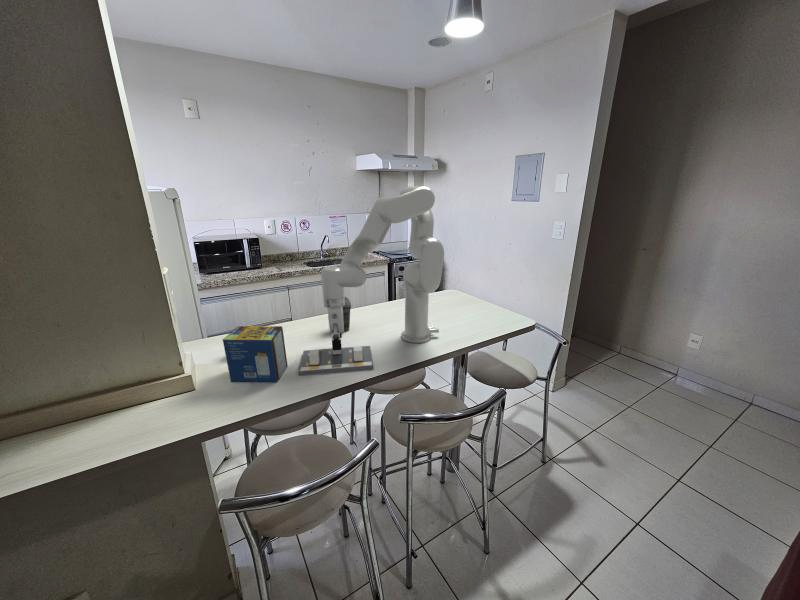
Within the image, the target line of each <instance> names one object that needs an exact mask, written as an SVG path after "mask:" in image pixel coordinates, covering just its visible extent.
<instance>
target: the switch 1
mask: <svg viewBox="0 0 800 600" xmlns="http://www.w3.org/2000/svg"><path fill="white" fill-rule="evenodd" d="M310 350H311V351H310V353H309V359H310V365H317V364H319V361H320V358H319V349H310Z"/></svg>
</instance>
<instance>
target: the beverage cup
mask: <svg viewBox="0 0 800 600" xmlns="http://www.w3.org/2000/svg"><path fill="white" fill-rule="evenodd" d="M344 297H345V305H344V306H342V308H343V320H344V332H343V333H346V332H349V331H350V325H351V322H350V321H351V309H352V305H351V300H350V299H349V298H348V297H347V296H345V295H344Z"/></svg>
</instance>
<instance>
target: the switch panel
mask: <svg viewBox="0 0 800 600" xmlns="http://www.w3.org/2000/svg"><path fill="white" fill-rule="evenodd" d="M353 347H354V346H350V347H346V346H345V347H342V349H341V354H333V349H332V348H322V349H321V348H320V349H318V350H319V358H320V361H319V364H317V365H310V359H309V353H310V351H311V350H312V349H308V350H307V349H305V350H303V352H302V357H301V361H300V365H299V370H298V376H308V375H322V374H331V373H333V374H334V373H343V372H355V371H356V372H357V371H367V370H368V371H369V370H374V362H373V355H372V349H371V345H364V346H363V345H361V346H358V347H362V356H363V361H354V350H353Z"/></svg>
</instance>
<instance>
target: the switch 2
mask: <svg viewBox="0 0 800 600" xmlns="http://www.w3.org/2000/svg"><path fill="white" fill-rule="evenodd" d="M352 347H353V350H354V361H363V356H362V347H359V346H352Z"/></svg>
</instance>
